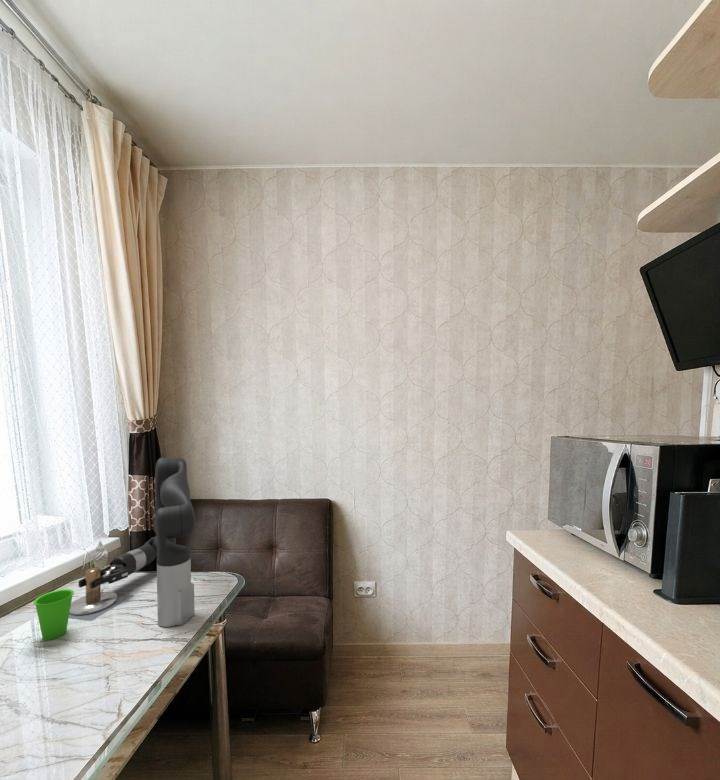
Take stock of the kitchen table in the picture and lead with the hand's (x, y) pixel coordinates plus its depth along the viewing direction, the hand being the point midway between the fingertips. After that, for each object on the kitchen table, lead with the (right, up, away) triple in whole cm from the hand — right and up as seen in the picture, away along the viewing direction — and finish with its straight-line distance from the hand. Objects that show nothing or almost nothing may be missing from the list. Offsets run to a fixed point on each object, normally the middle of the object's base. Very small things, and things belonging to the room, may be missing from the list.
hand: (85, 584), depth 126 cm
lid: (+1, -8, +2) cm, 8 cm away
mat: (+1, -8, +2) cm, 8 cm away
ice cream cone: (-9, -9, +21) cm, 25 cm away
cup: (+1, -8, -14) cm, 16 cm away
